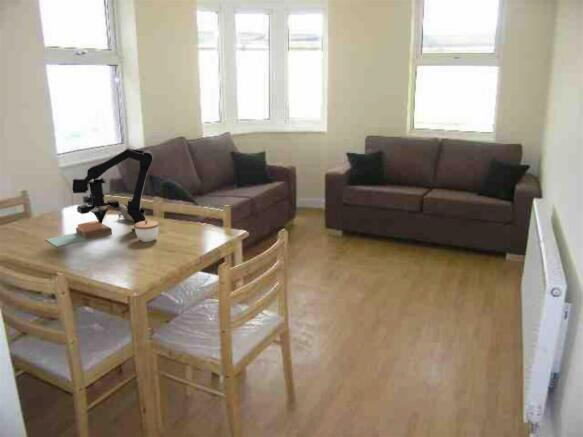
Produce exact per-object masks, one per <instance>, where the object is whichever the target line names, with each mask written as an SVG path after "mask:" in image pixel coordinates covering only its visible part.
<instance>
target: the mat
mask: <svg viewBox="0 0 583 437" xmlns="http://www.w3.org/2000/svg"><path fill="white" fill-rule="evenodd" d="M45 241H47V242H48V243H50V244H51V245H52V246H54V247H55V248H59V247H64V246H68V245H72V244H77V243H82V242H85V241H86V242H87V241H88V240H87V239H85V238H84V237H82V236H80V235H78V234H77V233H76V232H74V233H69V234H66V235H61V236H54V237H52V238H46V239H45Z"/></svg>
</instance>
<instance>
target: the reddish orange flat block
mask: <svg viewBox="0 0 583 437" xmlns="http://www.w3.org/2000/svg"><path fill="white" fill-rule="evenodd" d="M77 227H78V230H80V231H82V232H86V231H91V230H96V229H100V228H102V225H101V223H100V222H98V220H93V221H87V222H82V223H79V224H77Z"/></svg>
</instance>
